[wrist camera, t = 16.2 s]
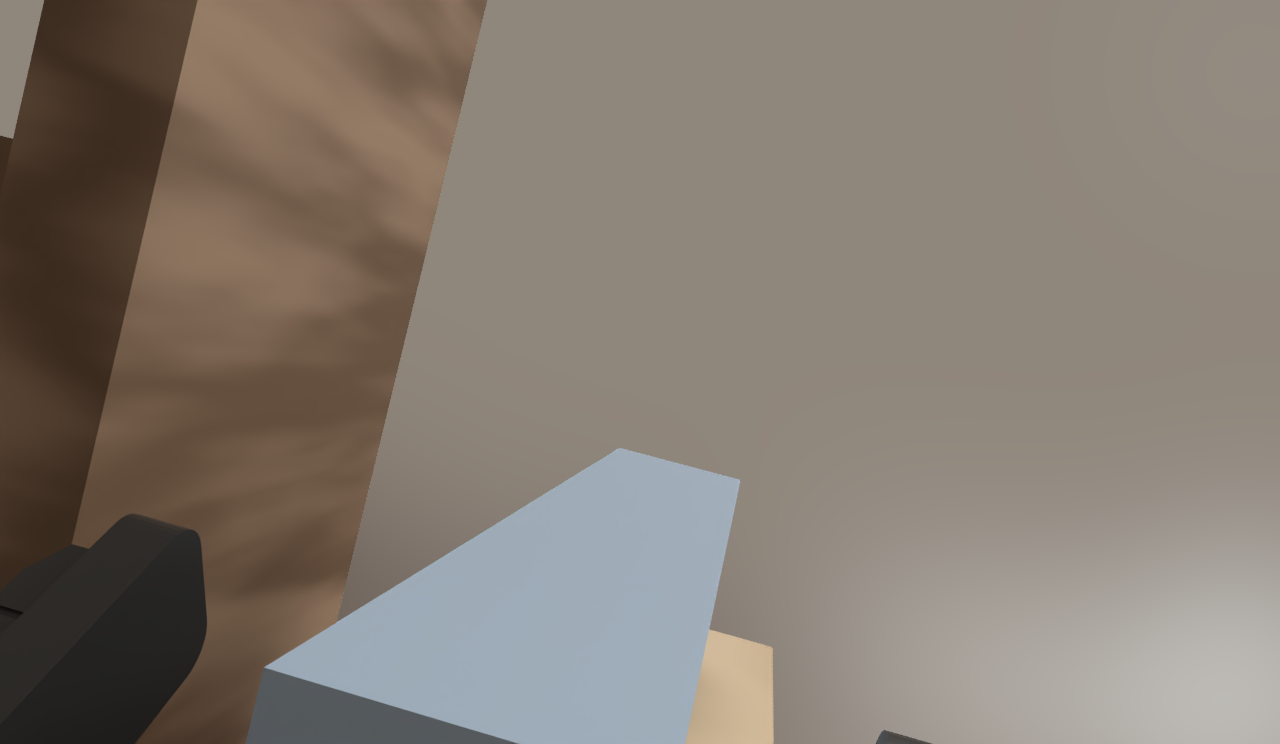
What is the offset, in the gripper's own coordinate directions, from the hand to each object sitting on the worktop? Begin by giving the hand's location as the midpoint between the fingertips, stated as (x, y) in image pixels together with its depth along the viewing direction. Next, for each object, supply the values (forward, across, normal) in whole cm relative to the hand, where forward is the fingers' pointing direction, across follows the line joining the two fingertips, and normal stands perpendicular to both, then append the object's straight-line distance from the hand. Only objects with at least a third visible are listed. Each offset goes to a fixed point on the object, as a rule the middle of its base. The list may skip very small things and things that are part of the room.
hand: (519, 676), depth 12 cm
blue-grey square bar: (+7, 0, +8) cm, 11 cm away
